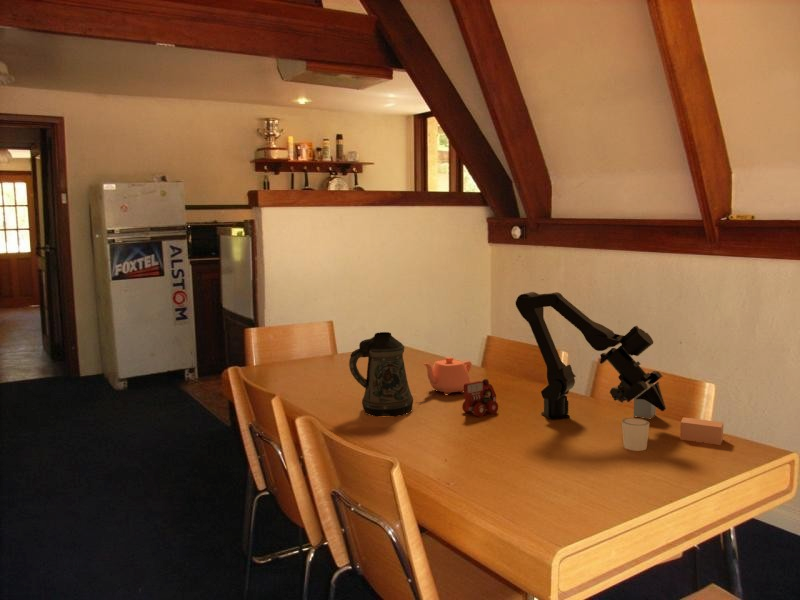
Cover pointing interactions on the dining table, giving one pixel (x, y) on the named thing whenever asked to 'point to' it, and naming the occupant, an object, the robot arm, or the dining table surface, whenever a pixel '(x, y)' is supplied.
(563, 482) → the dining table surface
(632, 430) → the white cup
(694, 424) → the terracotta post
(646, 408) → the slate post
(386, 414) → the beer stein
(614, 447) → the dining table surface
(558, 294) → the robot arm
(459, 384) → the teapot
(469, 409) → the toy fire truck
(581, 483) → the dining table surface
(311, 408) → the dining table surface
